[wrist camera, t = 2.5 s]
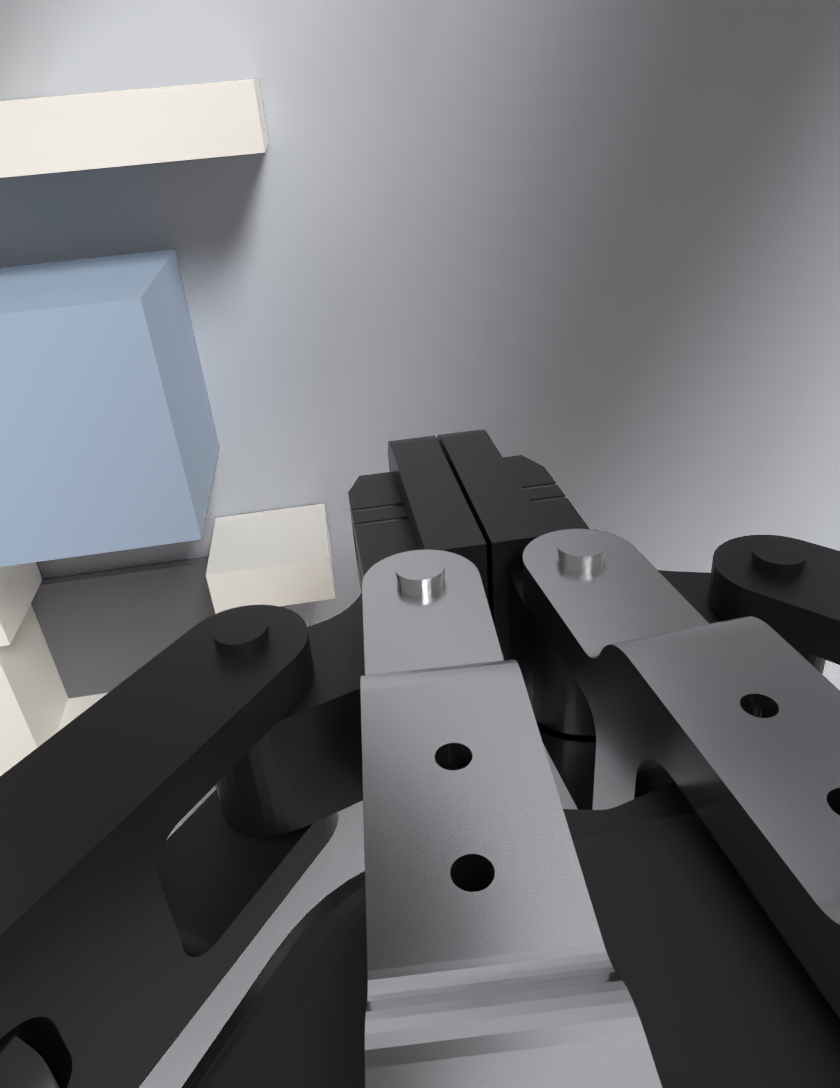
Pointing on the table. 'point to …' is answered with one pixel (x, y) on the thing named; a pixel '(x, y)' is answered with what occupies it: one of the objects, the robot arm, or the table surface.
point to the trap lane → (238, 541)
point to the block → (100, 409)
